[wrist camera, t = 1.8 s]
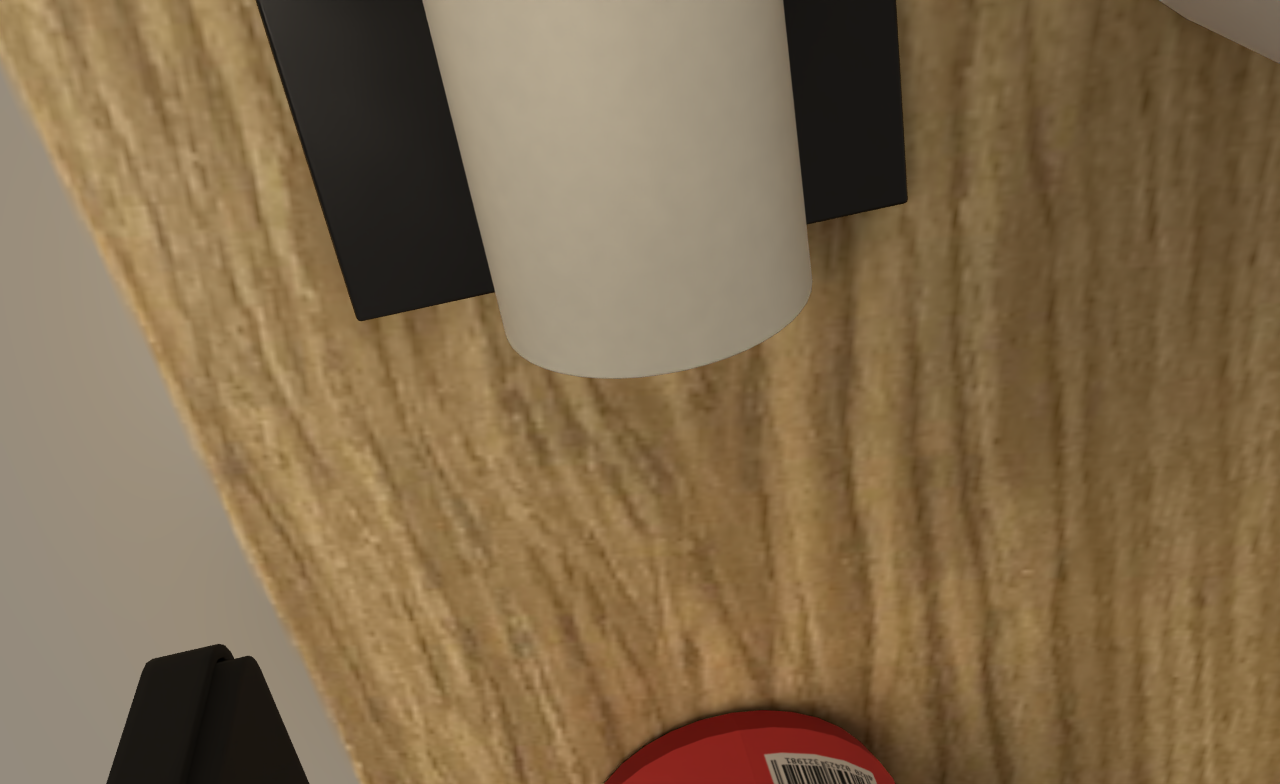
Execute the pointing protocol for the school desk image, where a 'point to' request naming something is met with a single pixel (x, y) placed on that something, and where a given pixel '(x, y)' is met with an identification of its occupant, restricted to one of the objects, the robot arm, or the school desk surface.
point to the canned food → (754, 753)
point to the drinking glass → (1237, 21)
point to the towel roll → (630, 175)
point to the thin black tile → (431, 160)
